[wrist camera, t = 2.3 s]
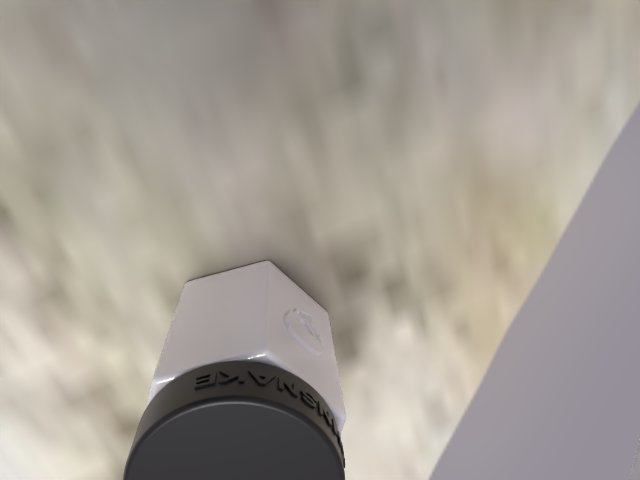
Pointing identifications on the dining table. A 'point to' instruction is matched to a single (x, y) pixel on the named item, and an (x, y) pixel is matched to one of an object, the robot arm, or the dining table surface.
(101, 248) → the dining table surface
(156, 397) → the jar
